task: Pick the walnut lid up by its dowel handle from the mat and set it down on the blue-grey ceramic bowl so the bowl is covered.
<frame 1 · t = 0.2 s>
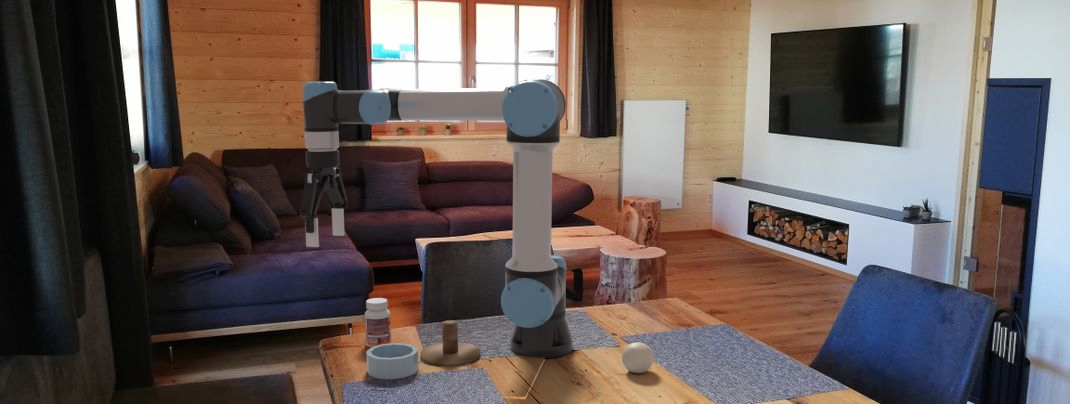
hand: (326, 241, 199), 28 cm above the table, fingers open, 13 cm apart
bowl: (392, 372, 192), on the table
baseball: (638, 372, 192), on the table
pill bottle: (378, 345, 211), on the table
mat: (450, 357, 201), on the table
lid: (450, 355, 201), resting on mat
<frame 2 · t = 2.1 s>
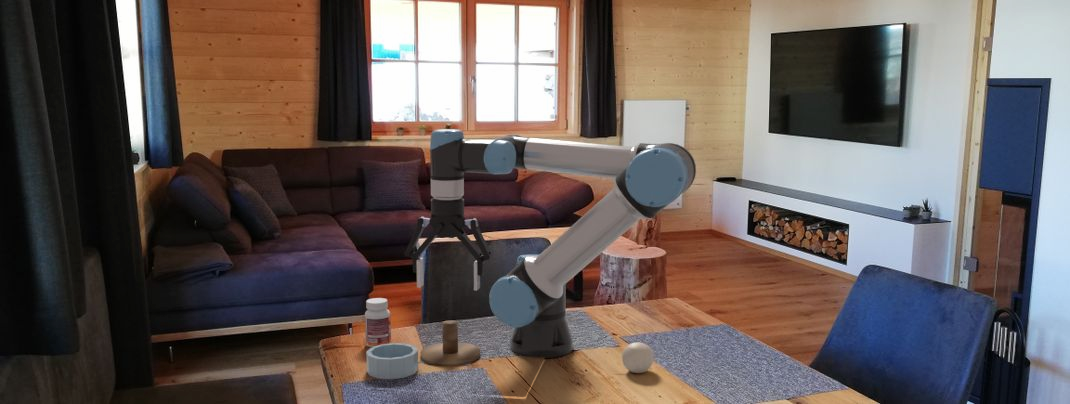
hand: (448, 287, 199), 17 cm above the table, fingers open, 13 cm apart
nothing on the table moved.
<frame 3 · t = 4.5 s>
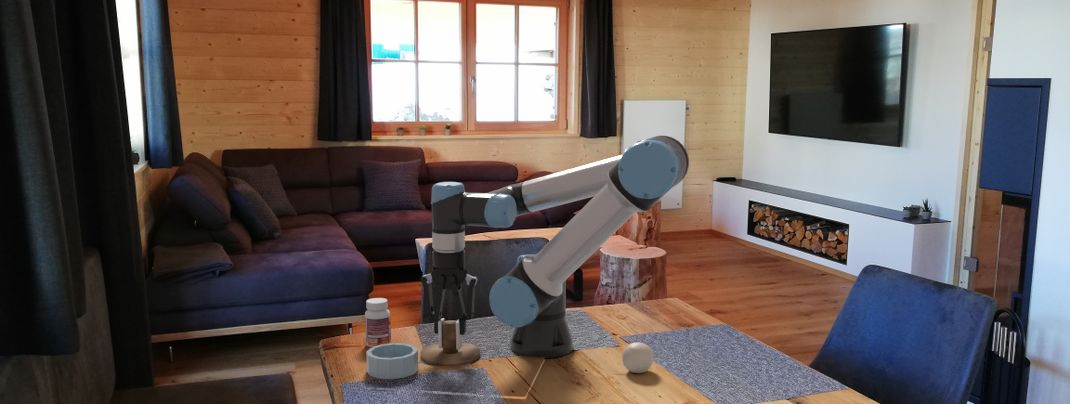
hand: (450, 346, 201), 3 cm above the table, fingers closed on lid, 4 cm apart
lid: (450, 355, 201), point 1 cm above the table, touching gripper, mat
everything else where it was.
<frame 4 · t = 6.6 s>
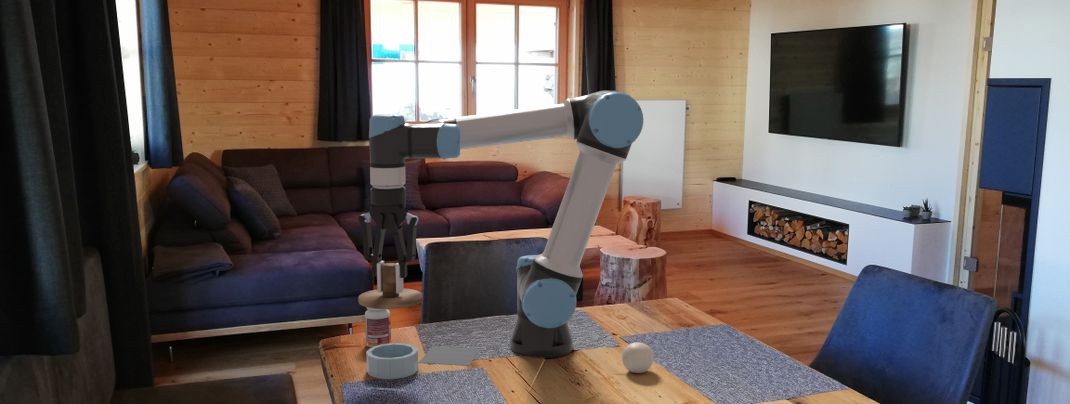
hand: (390, 291, 189), 19 cm above the table, fingers closed on lid, 4 cm apart
lid: (390, 300, 189), point 17 cm above the table, touching gripper
everything else where it was.
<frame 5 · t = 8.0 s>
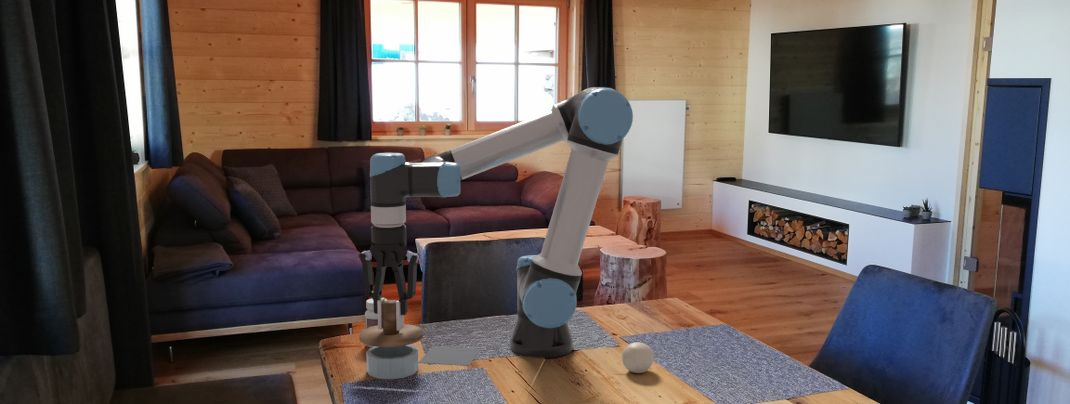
hand: (391, 328, 190), 10 cm above the table, fingers closed on lid, 4 cm apart
lid: (391, 337, 190), point 8 cm above the table, touching gripper
everything else where it was.
when the fingers open (8 cm above the table, at t = 9.1 s): lid stays where it is, resting on bowl.
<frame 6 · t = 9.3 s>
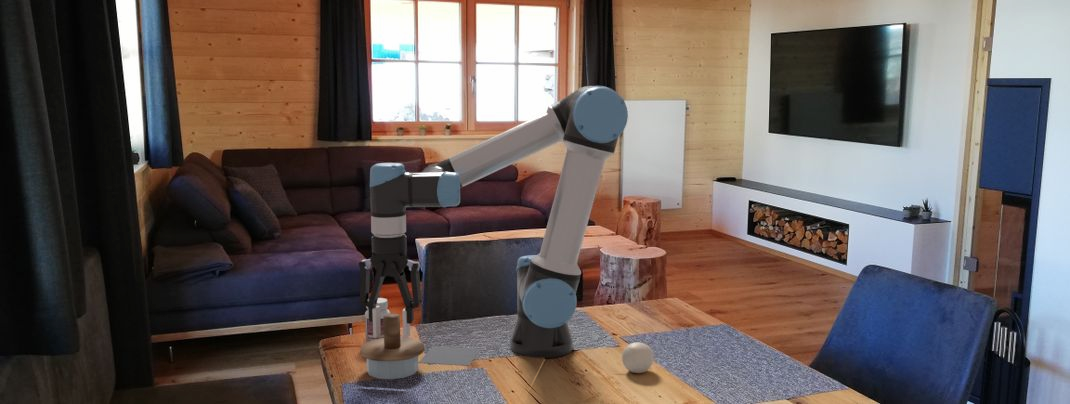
hand: (391, 336, 190), 8 cm above the table, fingers open, 6 cm apart
lid: (392, 350, 191), point 5 cm above the table, touching bowl
everything else where it was.
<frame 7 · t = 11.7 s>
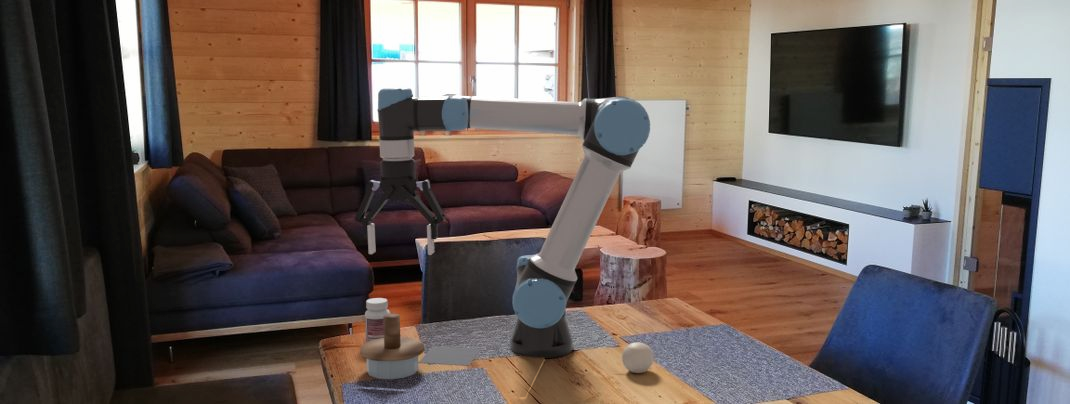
hand: (401, 253, 192), 26 cm above the table, fingers open, 13 cm apart
nothing on the table moved.
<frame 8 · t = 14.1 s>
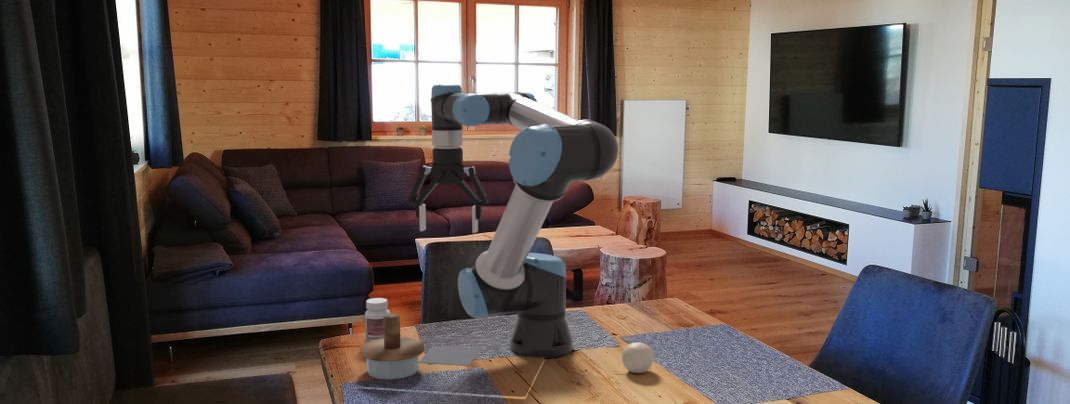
hand: (448, 231, 216), 27 cm above the table, fingers open, 13 cm apart
nothing on the table moved.
at the end: lid 0.1 cm off-centre on the bowl, point 5.0 cm above the bowl's base; lid tilted 0°; the gripper is holding nothing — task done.
